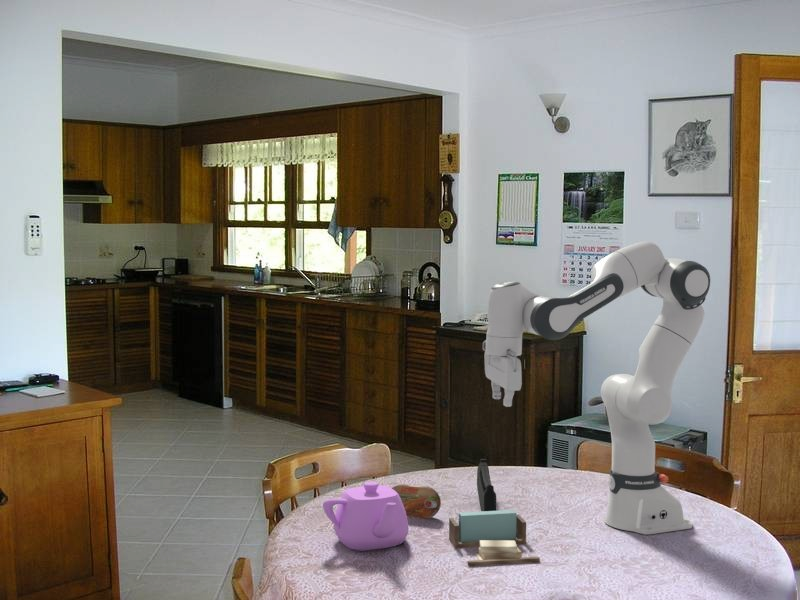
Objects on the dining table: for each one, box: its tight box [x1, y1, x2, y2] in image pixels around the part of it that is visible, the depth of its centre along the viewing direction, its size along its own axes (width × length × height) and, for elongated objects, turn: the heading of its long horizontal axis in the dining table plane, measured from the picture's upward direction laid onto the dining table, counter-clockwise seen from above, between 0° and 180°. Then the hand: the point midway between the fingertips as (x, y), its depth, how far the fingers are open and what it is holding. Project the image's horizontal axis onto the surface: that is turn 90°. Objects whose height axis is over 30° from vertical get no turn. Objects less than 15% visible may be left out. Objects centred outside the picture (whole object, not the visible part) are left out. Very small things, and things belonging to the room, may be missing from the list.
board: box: [458, 509, 517, 542], centre depth 218 cm, size 14×2×8 cm, turn 100°
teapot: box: [322, 481, 409, 552], centre depth 215 cm, size 23×21×15 cm
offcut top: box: [479, 540, 518, 553], centre depth 209 cm, size 8×4×2 cm, turn 89°
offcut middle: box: [478, 546, 523, 560], centre depth 209 cm, size 9×5×2 cm, turn 102°
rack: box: [448, 514, 541, 567], centre depth 213 cm, size 18×18×6 cm
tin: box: [391, 483, 442, 520], centre depth 240 cm, size 15×3×8 cm, turn 68°
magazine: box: [476, 458, 497, 512], centre depth 245 cm, size 17×3×30 cm
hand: (501, 402), depth 220 cm, fingers open, 8 cm apart
